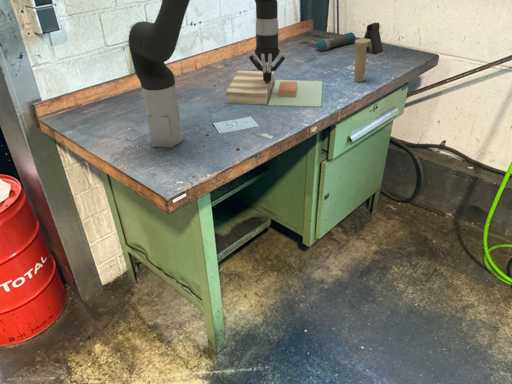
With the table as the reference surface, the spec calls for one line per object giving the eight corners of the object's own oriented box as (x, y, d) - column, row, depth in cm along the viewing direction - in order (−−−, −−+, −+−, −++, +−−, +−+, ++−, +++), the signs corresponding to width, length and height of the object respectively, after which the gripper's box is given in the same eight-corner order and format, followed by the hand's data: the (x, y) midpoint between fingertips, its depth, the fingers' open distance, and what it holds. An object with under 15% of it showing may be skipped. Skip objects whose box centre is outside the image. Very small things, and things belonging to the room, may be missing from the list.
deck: (266, 104, 147) (266, 93, 145) (226, 103, 149) (226, 92, 147) (274, 81, 165) (274, 71, 163) (238, 81, 167) (237, 70, 165)
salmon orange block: (278, 90, 150) (278, 96, 151) (295, 90, 149) (295, 97, 151) (280, 81, 157) (280, 87, 159) (296, 81, 157) (296, 87, 158)
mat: (321, 107, 144) (321, 106, 144) (267, 105, 146) (267, 104, 146) (322, 82, 163) (322, 81, 163) (275, 80, 166) (275, 79, 166)
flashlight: (355, 44, 205) (356, 33, 202) (321, 53, 194) (322, 42, 191) (347, 41, 208) (348, 31, 205) (314, 50, 197) (314, 39, 195)
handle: (348, 82, 162) (352, 41, 154) (357, 77, 166) (361, 37, 158) (359, 84, 160) (364, 43, 151) (368, 80, 164) (373, 39, 155)
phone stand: (358, 51, 195) (361, 23, 188) (365, 47, 198) (368, 20, 191) (375, 54, 189) (379, 26, 183) (382, 51, 193) (386, 23, 186)
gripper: (245, 34, 141) (247, 85, 150) (285, 34, 139) (284, 86, 148) (249, 28, 147) (251, 77, 156) (287, 29, 145) (287, 79, 155)
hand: (267, 82), depth 152 cm, fingers closed
